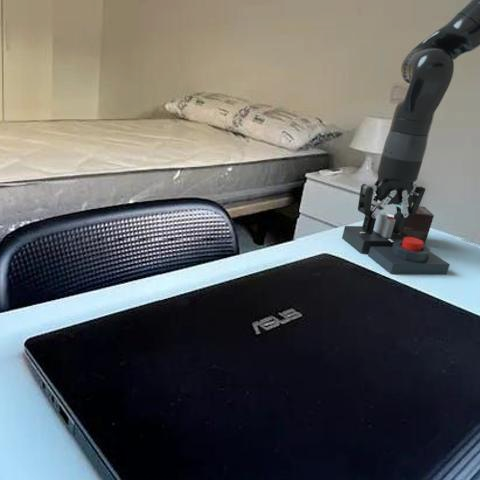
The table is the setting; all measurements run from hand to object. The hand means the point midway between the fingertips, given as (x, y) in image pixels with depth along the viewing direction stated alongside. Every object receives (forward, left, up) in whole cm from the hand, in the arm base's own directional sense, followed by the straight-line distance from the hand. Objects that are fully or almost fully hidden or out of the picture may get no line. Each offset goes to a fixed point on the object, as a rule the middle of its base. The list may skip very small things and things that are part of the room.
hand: (381, 232), depth 106 cm
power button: (-1, +9, 0) cm, 9 cm away
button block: (-1, +9, -3) cm, 10 cm away
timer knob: (0, 0, 0) cm, 0 cm away
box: (-9, -4, -3) cm, 11 cm away
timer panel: (0, 0, -3) cm, 3 cm away
